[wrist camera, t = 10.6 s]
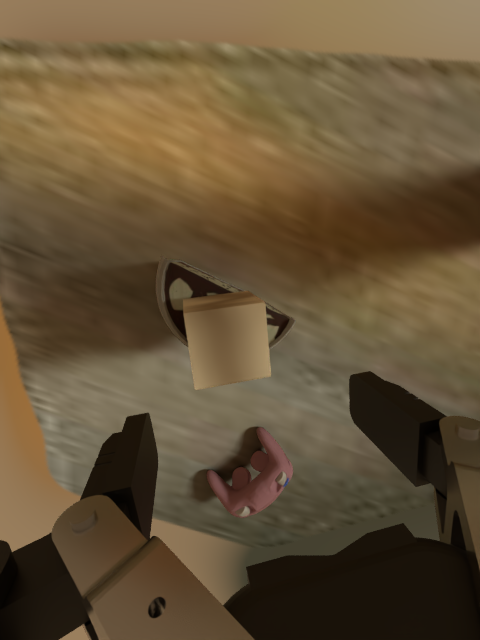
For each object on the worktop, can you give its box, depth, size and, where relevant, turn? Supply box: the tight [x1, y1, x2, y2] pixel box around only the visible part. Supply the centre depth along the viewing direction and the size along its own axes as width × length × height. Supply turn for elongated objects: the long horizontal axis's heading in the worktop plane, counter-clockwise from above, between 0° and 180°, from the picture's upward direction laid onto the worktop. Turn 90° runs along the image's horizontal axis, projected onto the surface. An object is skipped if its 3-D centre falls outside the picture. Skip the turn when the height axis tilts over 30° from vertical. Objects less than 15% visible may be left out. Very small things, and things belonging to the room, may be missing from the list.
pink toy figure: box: [207, 427, 293, 518], centre depth 36 cm, size 10×5×7 cm, turn 130°
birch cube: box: [183, 291, 271, 390], centre depth 21 cm, size 5×5×5 cm
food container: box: [156, 256, 296, 349], centre depth 28 cm, size 12×6×10 cm, turn 63°
